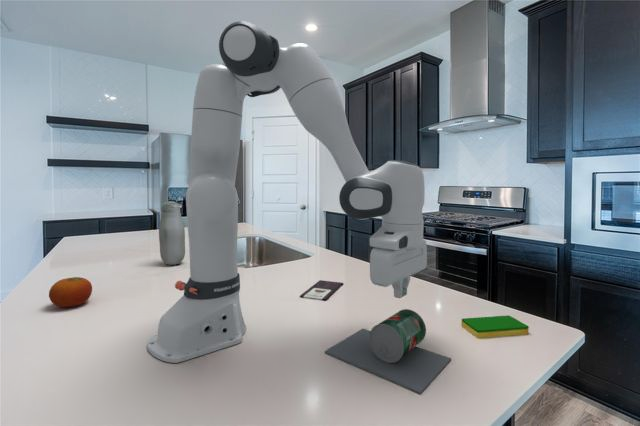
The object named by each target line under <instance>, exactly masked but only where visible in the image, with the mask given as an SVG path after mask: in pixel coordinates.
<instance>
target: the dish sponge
mask: <svg viewBox="0 0 640 426" xmlns="http://www.w3.org/2000/svg"><path fill="white" fill-rule="evenodd" d="M460 326H461V327H462V328H463V329H464V330H465V331H467V332H468V333H469V334H470V335H472V336H474V337H475V338H476V339H487V338H488V339H489V338H498V337H499V338H500V337H511V336H512V337H513V336H523V335H529V328H530V327H529V325H528V324H526V323H524V322H523V321H520V320H518V319H517V318H515V317H514V316H513V317H512V316H511V315H495V316H482V317H481V316H480V317H469V318H468V317H467V318H461V324H460Z"/></svg>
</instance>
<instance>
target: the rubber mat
mask: <svg viewBox="0 0 640 426" xmlns="http://www.w3.org/2000/svg"><path fill="white" fill-rule="evenodd" d="M370 331H371V330H369V329H366V328H361V329H359V330H358V331H355V333H353V334H351V335H349V336H348V337H346V338H344V339H343V340H340V341H339V342H338V343H336V344H335V345H333V346H331V347H330V348H327V349H326V350H324V354H326V355H328V356H330V357H333V358H335V359H338V360H340V361H342V362H344V363H346V364H348V365H349V364H350V365H352V366H354V367H356V368H358V369H361V370H363V371H366V372H368V373H370V374H372V375H374V376H376V377H380V378H381V379H383V380H386V381H388V382H390V383H394V384H395V385H397V386H400V387H402V388H404V389H407V390H409V391H411V392H414V393H416V394H419V395H422V394H423V392H424V391H425V390H426V389H427V388H428V387H429V386H430V385H431V383H432V382H433V381H434V380H435V379H436V377H438V375H440V373H441V372H442V371H443V370H444V369H445V368H446V367H447V365H448V364H449V363H450V362H451V361H452V358H451V357H448V356H446V355H442V354H439V353H437V352H434V351H431V350H428V349H425V348H422V347H420V346H417V345H416V346H415V347H414V348H413V349H411V350H410V351H409V352H408V353H407V354H405V355H404V356H403V357H402V358H401V359H400V360H398V361H397V362H394V363H387V362H384V361H382V360H381V359H379V358H378V357H377V356H376V355H375V353H374V352H373V350H372V348H371V346H370V342H369V335H370Z"/></svg>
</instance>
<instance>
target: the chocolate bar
mask: <svg viewBox="0 0 640 426" xmlns="http://www.w3.org/2000/svg"><path fill="white" fill-rule="evenodd" d="M343 285H344V282H340V281H339V282H338V281H330V280H321V279H320V280H318V281H317V282H316V283H314V284H313V285H312V286H310V287H309V288H308V289H307V290H306V291H304V292H303V293H302V294H300V295H299V298H301V299H309V300H317V301H323V302H326V301H328V300H329V299H330V298H331V297H332V296H333V295H335V293H336V292H337V291H338V290H339V289H340V288H342V286H343Z"/></svg>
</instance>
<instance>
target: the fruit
mask: <svg viewBox="0 0 640 426" xmlns="http://www.w3.org/2000/svg"><path fill="white" fill-rule="evenodd" d="M92 292H93V285H92V283H91V281H90V280H88V279H86V278H84V277H80V276H79V277H78V276H74V277H67V278H63V279H60V280H58V281H56V282H55V283H54V284H53V285H52V286H51V287H50V289H49V291H48V298H49V300H50V302H51V304H53V305H54V306H56V307H60V308H71V307H76V306H79V305H82V304H84V303H86V302H87V301H88V300H89V298H91V295H92Z"/></svg>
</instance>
